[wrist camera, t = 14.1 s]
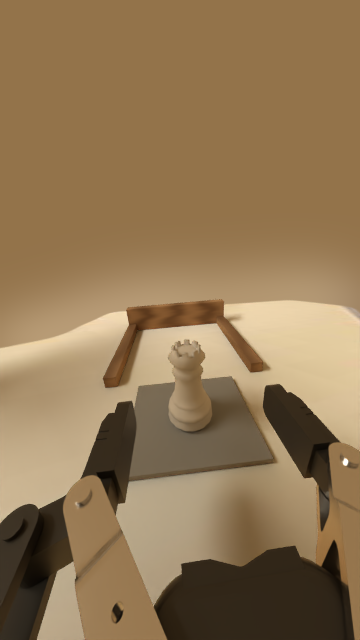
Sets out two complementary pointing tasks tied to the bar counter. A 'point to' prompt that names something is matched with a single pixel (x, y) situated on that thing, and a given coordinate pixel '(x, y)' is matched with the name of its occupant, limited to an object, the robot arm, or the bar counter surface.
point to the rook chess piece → (188, 388)
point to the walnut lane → (173, 318)
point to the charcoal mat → (195, 434)
